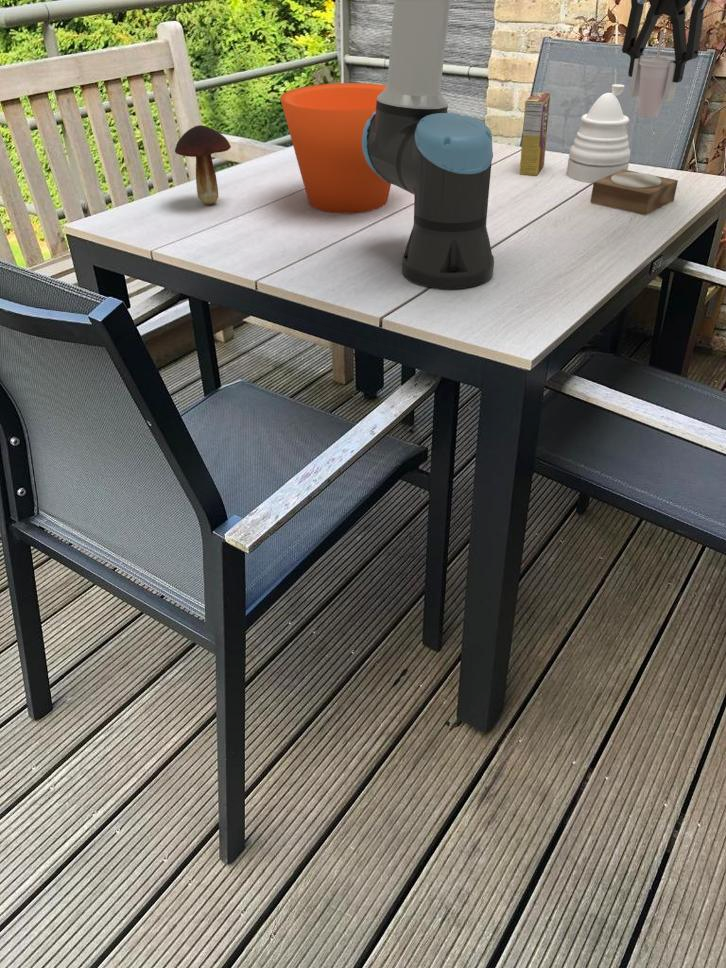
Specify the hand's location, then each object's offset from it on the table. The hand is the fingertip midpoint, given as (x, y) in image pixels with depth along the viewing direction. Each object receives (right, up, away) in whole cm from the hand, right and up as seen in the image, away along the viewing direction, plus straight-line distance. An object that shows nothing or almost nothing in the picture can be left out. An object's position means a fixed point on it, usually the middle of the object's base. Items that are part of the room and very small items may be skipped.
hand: (650, 98), depth 155 cm
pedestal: (0, -16, +11) cm, 19 cm away
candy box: (-16, -2, +30) cm, 35 cm away
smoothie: (0, -3, +2) cm, 3 cm away
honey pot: (-3, -5, +27) cm, 27 cm away
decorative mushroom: (-86, -16, +13) cm, 88 cm away
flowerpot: (-57, -15, +14) cm, 61 cm away
